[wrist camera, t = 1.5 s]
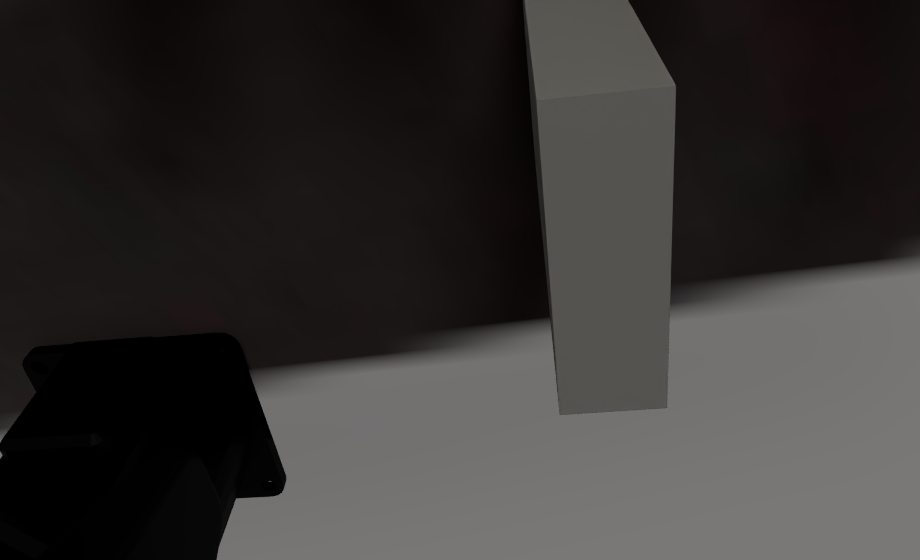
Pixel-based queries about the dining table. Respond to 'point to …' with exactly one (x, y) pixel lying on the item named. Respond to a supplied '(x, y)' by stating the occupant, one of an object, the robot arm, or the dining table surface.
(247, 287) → the dining table surface
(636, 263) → the end domino
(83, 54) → the dining table surface
